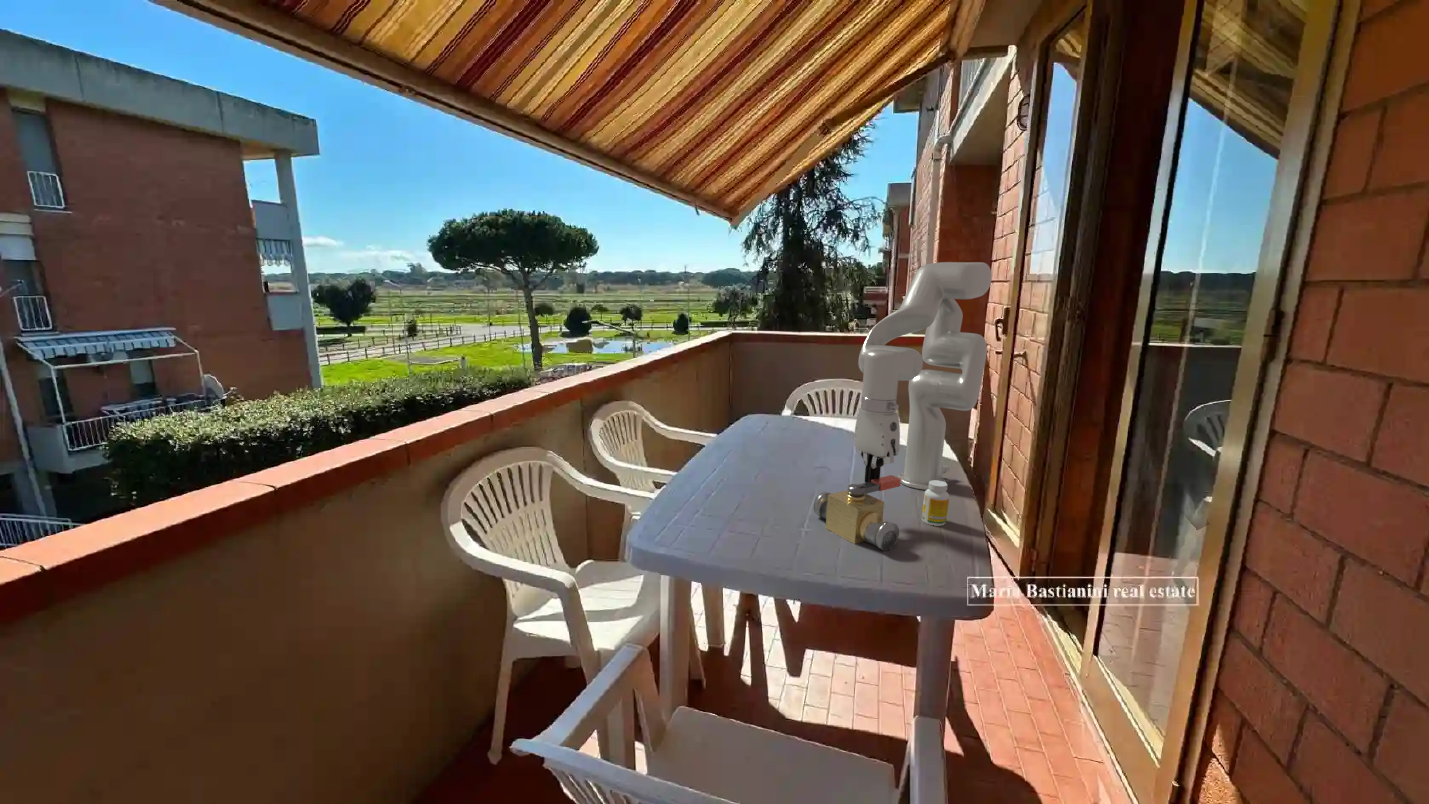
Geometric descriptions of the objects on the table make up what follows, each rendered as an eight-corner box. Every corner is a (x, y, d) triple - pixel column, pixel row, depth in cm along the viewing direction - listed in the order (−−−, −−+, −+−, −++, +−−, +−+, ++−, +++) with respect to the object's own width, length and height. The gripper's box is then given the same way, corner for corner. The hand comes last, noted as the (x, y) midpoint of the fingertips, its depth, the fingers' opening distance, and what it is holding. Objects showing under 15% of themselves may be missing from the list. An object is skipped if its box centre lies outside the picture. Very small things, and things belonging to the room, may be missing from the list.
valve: (809, 519, 132) (811, 483, 130) (835, 512, 136) (837, 477, 134) (874, 554, 115) (877, 514, 113) (901, 546, 119) (904, 507, 117)
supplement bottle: (916, 519, 133) (920, 480, 131) (933, 515, 135) (937, 477, 133) (934, 528, 128) (938, 488, 126) (951, 524, 131) (955, 485, 129)
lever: (856, 498, 121) (856, 490, 121) (844, 492, 124) (844, 484, 124) (901, 486, 129) (902, 479, 128) (889, 481, 132) (889, 474, 131)
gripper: (916, 410, 122) (908, 490, 126) (866, 397, 135) (860, 470, 139) (892, 413, 119) (885, 496, 123) (842, 400, 131) (837, 475, 135)
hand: (871, 482), depth 131 cm, fingers closed
